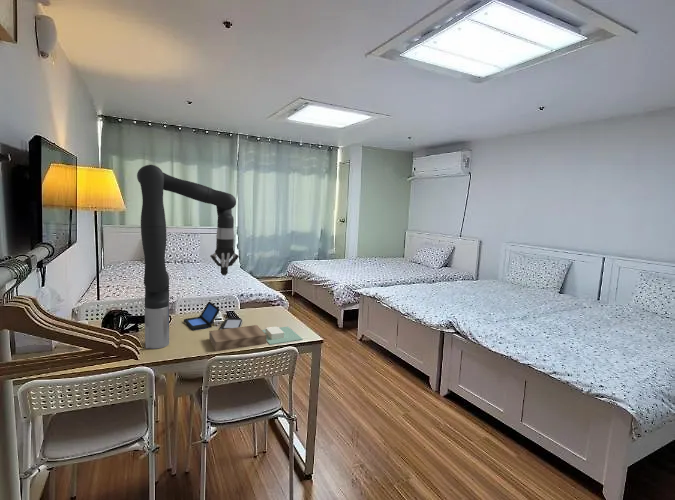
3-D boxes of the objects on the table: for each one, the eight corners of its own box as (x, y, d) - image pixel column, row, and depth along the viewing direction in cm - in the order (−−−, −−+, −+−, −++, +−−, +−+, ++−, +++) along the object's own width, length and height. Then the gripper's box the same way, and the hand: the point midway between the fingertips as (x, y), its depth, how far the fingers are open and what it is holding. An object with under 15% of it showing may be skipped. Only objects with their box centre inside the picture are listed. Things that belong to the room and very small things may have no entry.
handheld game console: (183, 321, 187) (182, 304, 186) (209, 317, 195) (209, 300, 194) (192, 331, 175) (192, 312, 174) (220, 326, 183) (220, 308, 182)
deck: (215, 351, 154) (216, 342, 153) (209, 339, 166) (209, 330, 165) (266, 343, 165) (266, 335, 164) (256, 332, 177) (256, 324, 176)
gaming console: (226, 321, 192) (226, 316, 192) (243, 321, 193) (243, 316, 193) (218, 334, 173) (218, 329, 173) (238, 334, 174) (238, 329, 174)
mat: (269, 344, 164) (269, 344, 164) (257, 331, 179) (257, 330, 179) (302, 339, 172) (302, 338, 172) (288, 327, 187) (288, 326, 187)
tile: (284, 332, 171) (283, 337, 172) (277, 326, 179) (277, 331, 179) (271, 334, 168) (271, 339, 169) (265, 327, 176) (265, 333, 176)
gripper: (211, 238, 160) (210, 277, 162) (241, 238, 167) (240, 276, 169) (208, 236, 166) (207, 273, 169) (237, 236, 173) (236, 272, 175)
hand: (224, 274), depth 169 cm, fingers closed
